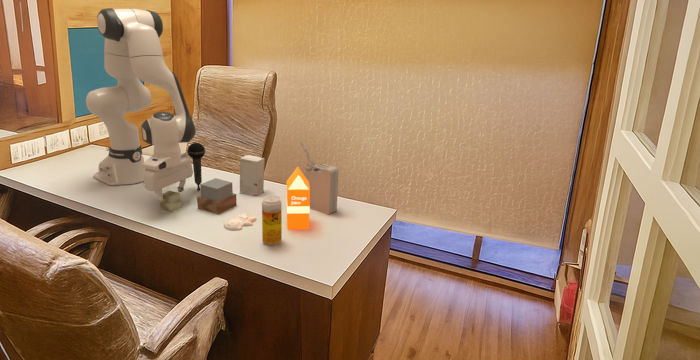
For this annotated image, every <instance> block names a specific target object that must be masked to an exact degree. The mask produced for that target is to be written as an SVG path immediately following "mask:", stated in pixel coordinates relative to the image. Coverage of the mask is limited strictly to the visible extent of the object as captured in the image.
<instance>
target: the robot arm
mask: <svg viewBox="0 0 700 360" xmlns="http://www.w3.org/2000/svg"><path fill="white" fill-rule="evenodd" d="M96 24H97V29H98V33H100V35H101V36H103V38H104V46H103V47H104V65H103V67H104V70H105V72H106V74H108V75H109V76H110V77H112V78H114V79H116V81H117V85H115V86H107V87H106V86H105V87H100V88H97V89H93V90H91V91H89V92H88V93H87V95H86V99H85V103H86V104H85V105H86V108H87V110H88V111H89V112H90V113H91V114H92V115H93V116H95V117H97V118H99V120H100V121H102V122H103V124H104V125H105V127H106V129H107V132H108V133H107V134H108V139H109V144H110V147H107V148H106V151H107V152H108V155H107V156H106V157H105V158H104V159H102V160H101V161H100V162H99V163H98V172H95V173H94V174H93V175H92V178H93V179H95V180H98V181H100V182H102V183H104V184H106V185H109V186H119V185H123V186H124V185H133V184H138V183H142V182H143V187H144V189H145V190H147V192H151V193H154V192H155V194H156V195H157V200H159V201H160V200H163V199H165V195H164V194H163V192H162V191H163V189H164V188H168V187H169V186H172V185H174V184H176V183H178V182H179V184H178V186H176V187H177V192H178V193H181V192H185V186H186V183H187V182H186V180H187V179H189V178H192V177H193V176H194V169H193V163H192V161H191V157H190V156H189V155H188V153H187V152H184V153H181V152H182V151H181V148H180V143H181V144H182V143H185V144H186V143H189V142H191V141H192V140H193V138H195V135H196V132H197V131H196V126H195V123H194V121H193V119H192V115H191V113H190V111H189V108H188V105H187V102H186V98H185V96H184V93H183V90H182V87H181V85H180V81H179V79H178V76H177V75H176V73H175V72H174V71H172V70H170V69H169V68H168V65H167V64H166V62H165V60H164V53H163V49H162V44H161V41H160V38H161V36H162V34H163V31H164V23H163V20H162V18H161V16H160V15H159V14H158V12H155V11H153V10H148V9H146V10H144V9H139V8H113V7H109V8H103V9H101V10H100V11H99V12H98V13H97V16H96ZM142 82H144V83H146V84H148V85H152V86H155V87H158V88H161V89H163V90H165V91H166V92H167V93H168V94H169V96H170V100H171V102H172V105H173V108H174V111H175V114H173V113H172V112H170V111H157V112H154V113H153V114H151V118H148V119H147V118H146V119H145V120H144V121H143V122H142V124H141V126H140V129H141V137H142V141H143V142H145V143H146V144H148V145H151V146H154V147H153V154H152V155H150V157H149V158H148V159H146V160H145V159H144V156H143V147H142V145H141V142H140V141H141V139H140V131H139V128H138V127H137V126H136V124H134V123H132V122H131V121H130V122H129V121H127V119H126V116H125V114H129V113H135V112H136V113H137V112H140V111H143V110H145V109H147V108H149V107H150V106H151V104H152V102H153V101H152V100H153V99H152V94H151V90H150V89H149V88H148V87H147V86H146V85H144V84H143V83H142Z"/></svg>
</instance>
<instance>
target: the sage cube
mask: <svg viewBox="0 0 700 360" xmlns="http://www.w3.org/2000/svg"><path fill="white" fill-rule="evenodd" d="M162 194H164V195H165V199H163V200H159V203H160V210H161V211H164V212H166V213H167V212H168V213H174V212H176V211H179V210H180V209H182V199H181V198H182V197H181V192H178V191H174V190H168V191H165V192H162Z"/></svg>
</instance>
